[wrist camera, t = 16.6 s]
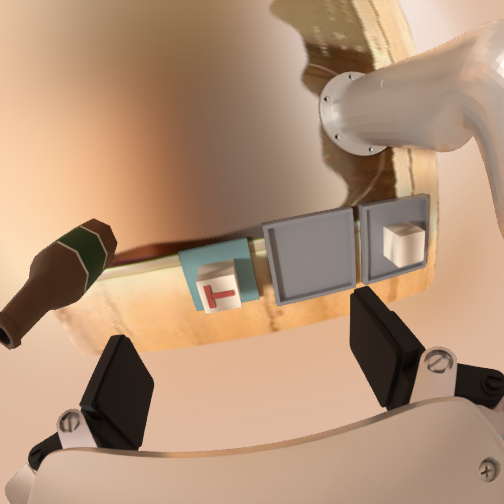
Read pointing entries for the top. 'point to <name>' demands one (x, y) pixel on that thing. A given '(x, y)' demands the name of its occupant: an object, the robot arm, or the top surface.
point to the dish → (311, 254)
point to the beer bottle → (58, 278)
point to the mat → (217, 253)
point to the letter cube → (219, 286)
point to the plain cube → (404, 243)
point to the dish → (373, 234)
